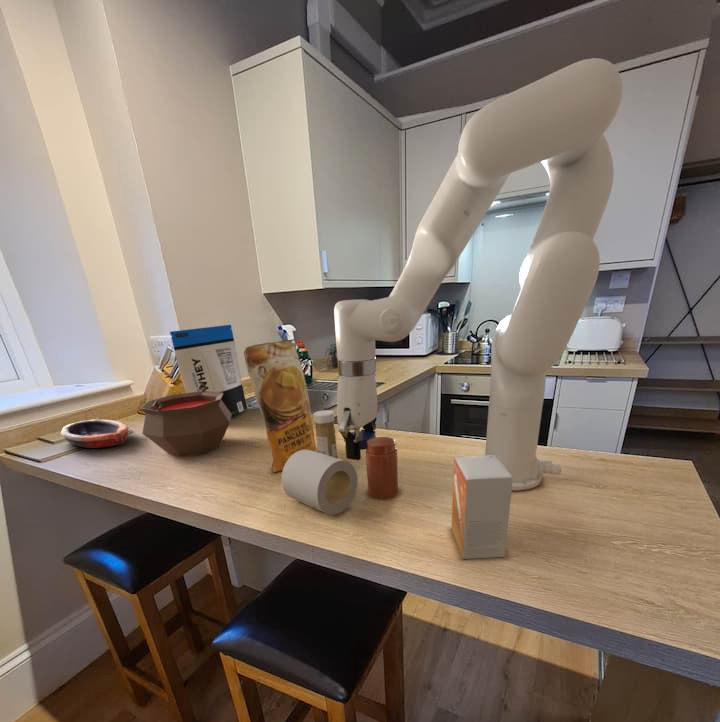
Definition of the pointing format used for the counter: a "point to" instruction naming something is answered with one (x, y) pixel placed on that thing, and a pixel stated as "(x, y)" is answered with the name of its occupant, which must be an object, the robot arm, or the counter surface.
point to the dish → (95, 433)
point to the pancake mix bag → (281, 398)
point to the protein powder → (210, 364)
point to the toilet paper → (320, 481)
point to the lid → (365, 438)
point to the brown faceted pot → (187, 422)
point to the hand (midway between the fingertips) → (361, 452)
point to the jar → (382, 468)
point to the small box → (481, 506)
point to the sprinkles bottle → (325, 432)
